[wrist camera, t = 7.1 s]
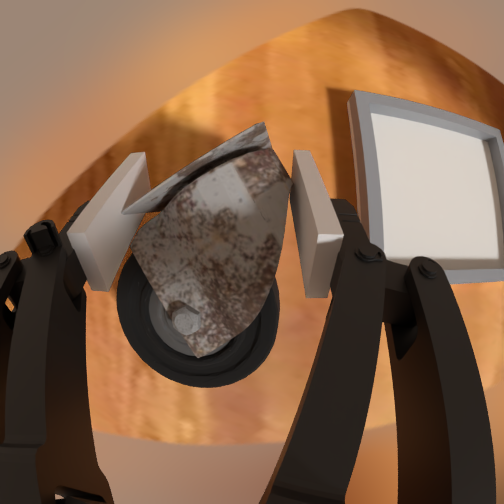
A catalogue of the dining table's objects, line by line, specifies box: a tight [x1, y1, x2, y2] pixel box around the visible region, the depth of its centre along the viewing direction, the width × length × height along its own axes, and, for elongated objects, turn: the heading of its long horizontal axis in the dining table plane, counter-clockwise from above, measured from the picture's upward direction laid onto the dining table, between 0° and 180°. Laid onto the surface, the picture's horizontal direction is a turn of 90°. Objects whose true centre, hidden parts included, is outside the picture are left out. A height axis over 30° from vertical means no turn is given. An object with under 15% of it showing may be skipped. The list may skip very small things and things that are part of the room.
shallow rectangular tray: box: [347, 90, 504, 284], centre depth 19 cm, size 16×14×2 cm
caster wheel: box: [117, 122, 294, 388], centre depth 14 cm, size 7×11×10 cm
